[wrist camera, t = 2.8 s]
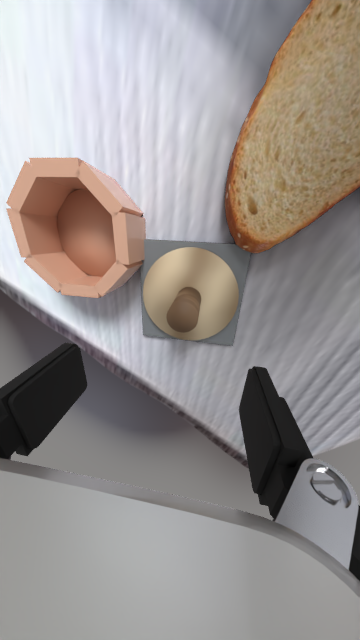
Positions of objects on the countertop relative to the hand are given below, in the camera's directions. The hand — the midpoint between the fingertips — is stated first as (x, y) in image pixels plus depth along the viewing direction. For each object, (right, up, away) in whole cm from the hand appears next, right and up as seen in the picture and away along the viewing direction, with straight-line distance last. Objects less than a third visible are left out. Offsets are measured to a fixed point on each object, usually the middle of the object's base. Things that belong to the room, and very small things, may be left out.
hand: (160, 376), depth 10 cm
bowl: (-8, +13, +11) cm, 19 cm away
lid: (+2, +6, +12) cm, 13 cm away
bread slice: (+14, +19, +4) cm, 24 cm away
